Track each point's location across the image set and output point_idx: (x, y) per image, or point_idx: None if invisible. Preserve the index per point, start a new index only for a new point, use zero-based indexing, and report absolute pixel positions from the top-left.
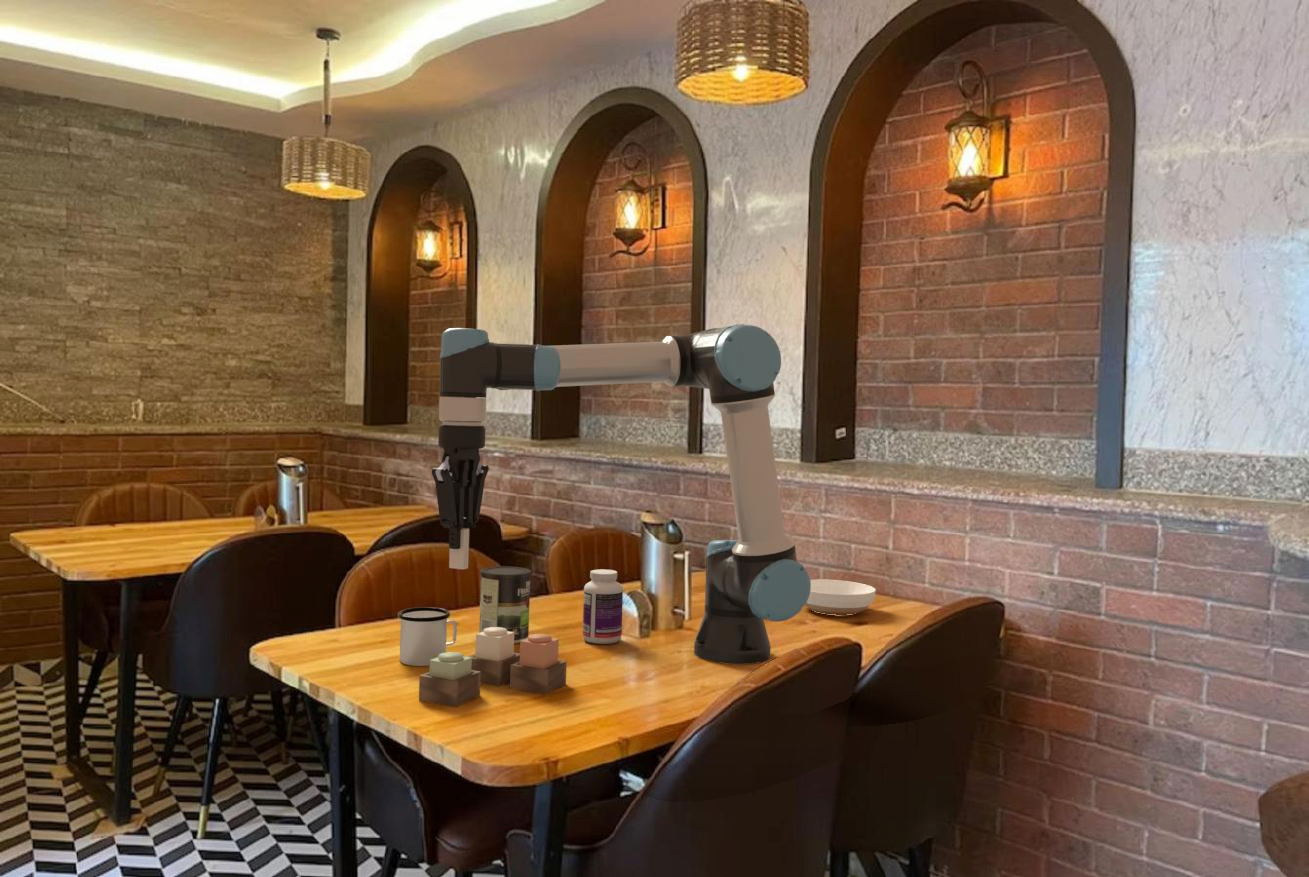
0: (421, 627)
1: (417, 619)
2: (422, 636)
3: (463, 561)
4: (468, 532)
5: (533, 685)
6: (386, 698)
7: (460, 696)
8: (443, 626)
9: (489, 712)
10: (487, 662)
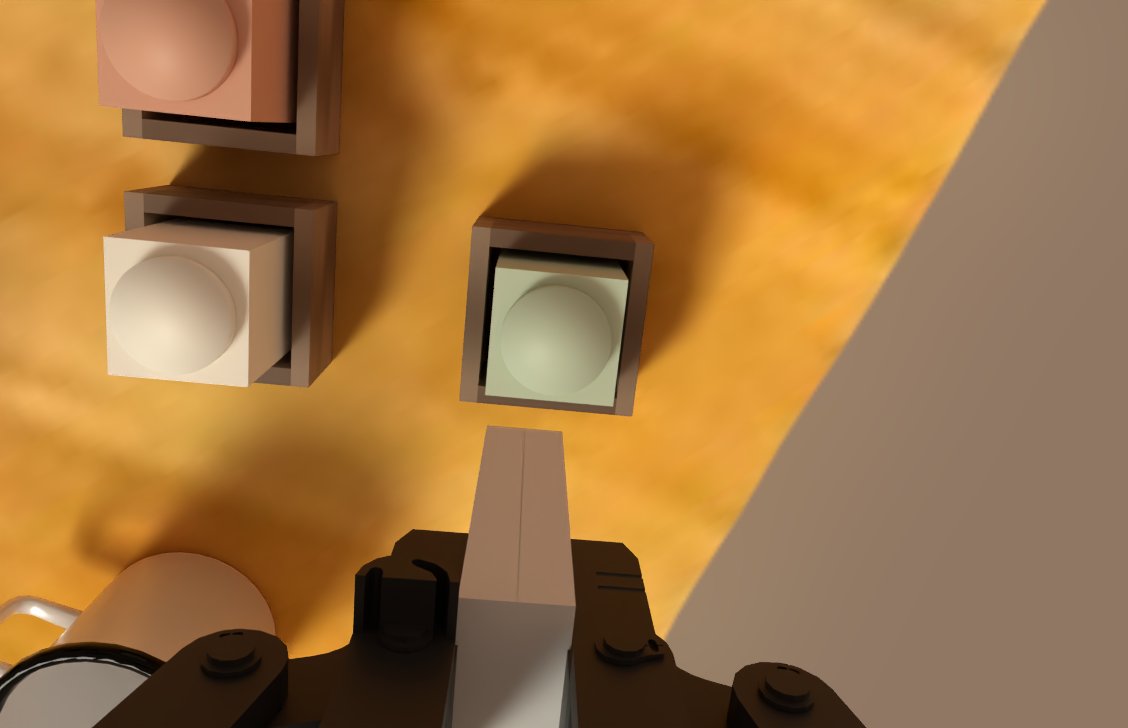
0: None
1: None
2: None
3: (558, 455)
4: (476, 574)
5: (337, 32)
6: (650, 493)
7: (611, 232)
8: (111, 631)
9: (646, 82)
10: (314, 277)
